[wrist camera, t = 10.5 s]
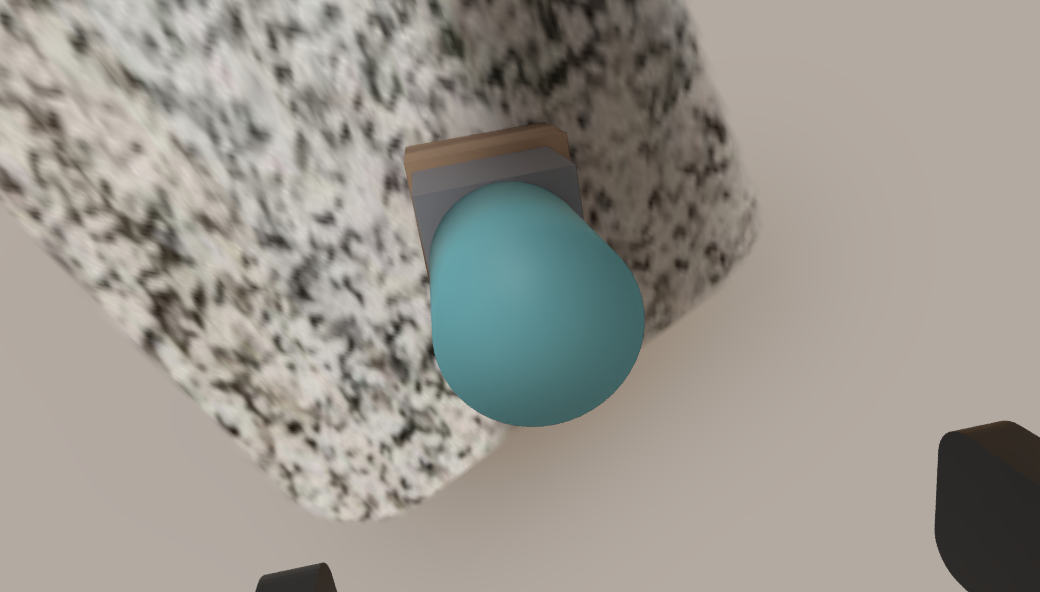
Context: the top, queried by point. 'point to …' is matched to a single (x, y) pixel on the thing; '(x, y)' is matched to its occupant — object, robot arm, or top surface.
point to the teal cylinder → (530, 307)
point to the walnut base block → (482, 149)
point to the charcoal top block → (454, 181)
